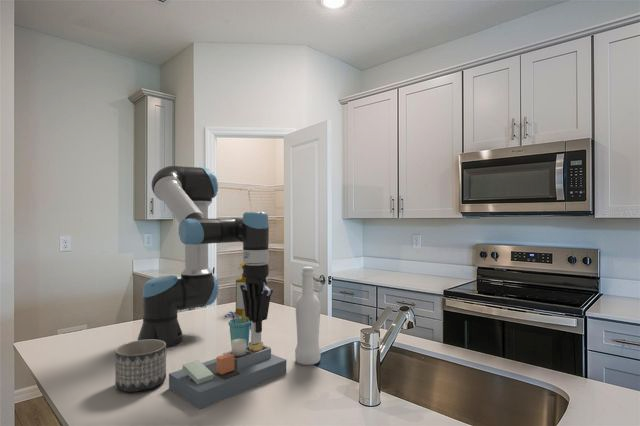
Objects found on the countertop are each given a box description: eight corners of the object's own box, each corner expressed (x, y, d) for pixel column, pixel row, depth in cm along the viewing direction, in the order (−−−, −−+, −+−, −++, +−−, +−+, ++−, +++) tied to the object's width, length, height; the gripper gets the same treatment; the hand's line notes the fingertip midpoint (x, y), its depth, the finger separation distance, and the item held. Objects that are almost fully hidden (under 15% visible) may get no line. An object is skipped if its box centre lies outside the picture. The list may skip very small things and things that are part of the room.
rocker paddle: (182, 369, 102) (182, 364, 102) (197, 364, 105) (198, 359, 105) (197, 384, 97) (198, 379, 96) (212, 378, 100) (213, 373, 100)
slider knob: (216, 371, 103) (216, 357, 103) (229, 367, 106) (229, 353, 106) (221, 374, 101) (221, 359, 101) (234, 370, 104) (234, 355, 104)
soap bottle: (231, 316, 174) (231, 264, 174) (241, 309, 186) (241, 261, 186) (246, 317, 172) (246, 265, 172) (255, 310, 185) (255, 261, 185)
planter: (130, 374, 112) (130, 338, 112) (173, 375, 112) (173, 339, 112) (105, 395, 100) (105, 355, 100) (153, 395, 99) (153, 355, 99)
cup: (235, 362, 121) (235, 314, 121) (215, 358, 125) (215, 312, 124) (259, 347, 134) (259, 305, 134) (241, 344, 137) (241, 302, 137)
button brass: (245, 355, 115) (245, 343, 115) (257, 351, 118) (257, 339, 118) (254, 358, 112) (254, 346, 112) (265, 354, 115) (265, 343, 115)
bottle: (301, 368, 117) (301, 269, 117) (291, 358, 124) (291, 266, 124) (325, 363, 121) (325, 267, 121) (313, 354, 128) (313, 264, 128)
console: (168, 388, 103) (168, 363, 103) (253, 359, 124) (253, 338, 124) (199, 409, 93) (199, 381, 92) (286, 373, 113) (286, 350, 113)
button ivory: (228, 353, 110) (228, 341, 110) (240, 349, 113) (240, 337, 113) (237, 357, 107) (237, 344, 107) (249, 353, 110) (249, 340, 110)
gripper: (232, 262, 116) (232, 340, 116) (259, 266, 107) (259, 351, 108) (252, 260, 122) (252, 334, 122) (279, 264, 113) (280, 344, 113)
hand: (256, 342), depth 115 cm, fingers closed
